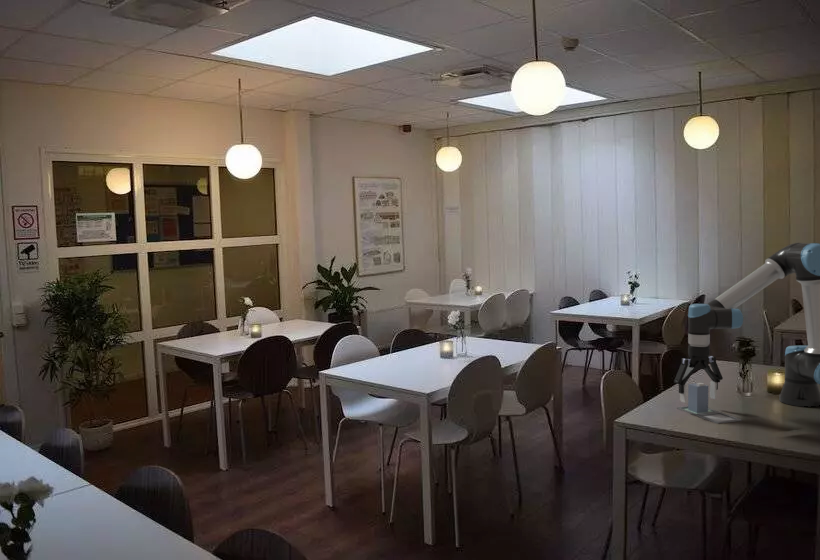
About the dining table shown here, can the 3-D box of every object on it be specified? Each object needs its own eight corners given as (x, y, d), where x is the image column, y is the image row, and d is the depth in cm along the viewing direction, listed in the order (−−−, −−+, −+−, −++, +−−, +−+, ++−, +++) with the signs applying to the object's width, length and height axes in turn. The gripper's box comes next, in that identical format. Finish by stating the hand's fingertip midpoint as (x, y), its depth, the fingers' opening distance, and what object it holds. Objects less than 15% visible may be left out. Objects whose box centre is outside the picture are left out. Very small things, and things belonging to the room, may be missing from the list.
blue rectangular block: (698, 408, 264) (699, 380, 263) (708, 411, 259) (708, 383, 258) (688, 409, 263) (688, 381, 262) (697, 413, 258) (697, 384, 257)
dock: (704, 408, 269) (704, 403, 269) (748, 423, 247) (748, 418, 247) (670, 412, 264) (670, 407, 264) (711, 428, 243) (711, 423, 243)
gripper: (718, 341, 266) (718, 394, 268) (664, 345, 259) (664, 400, 261) (733, 344, 259) (732, 399, 261) (677, 348, 252) (677, 405, 253)
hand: (698, 400), depth 261 cm, fingers open, 13 cm apart
